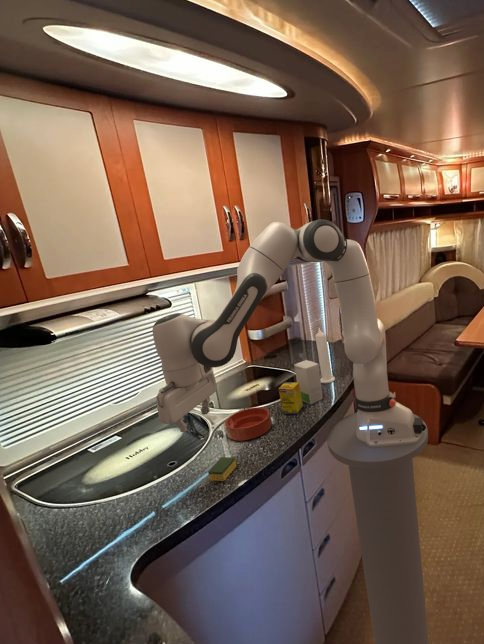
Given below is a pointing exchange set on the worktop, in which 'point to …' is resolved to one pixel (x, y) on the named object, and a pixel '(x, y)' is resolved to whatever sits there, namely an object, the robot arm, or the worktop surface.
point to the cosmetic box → (309, 381)
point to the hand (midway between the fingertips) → (196, 421)
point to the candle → (323, 357)
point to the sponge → (222, 469)
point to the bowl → (248, 423)
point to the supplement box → (291, 398)
